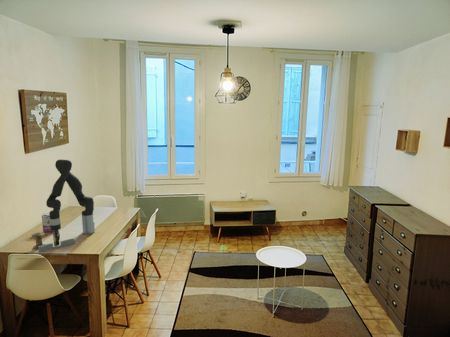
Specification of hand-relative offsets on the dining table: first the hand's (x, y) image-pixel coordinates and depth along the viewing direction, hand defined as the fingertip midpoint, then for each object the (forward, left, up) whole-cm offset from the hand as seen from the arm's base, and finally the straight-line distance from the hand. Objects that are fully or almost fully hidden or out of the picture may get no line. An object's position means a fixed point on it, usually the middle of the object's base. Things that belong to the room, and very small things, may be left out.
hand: (56, 243), depth 260 cm
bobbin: (+11, -8, -3) cm, 14 cm away
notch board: (0, 0, -3) cm, 3 cm away
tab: (0, 0, -1) cm, 1 cm away
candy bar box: (-4, -40, -3) cm, 40 cm away
